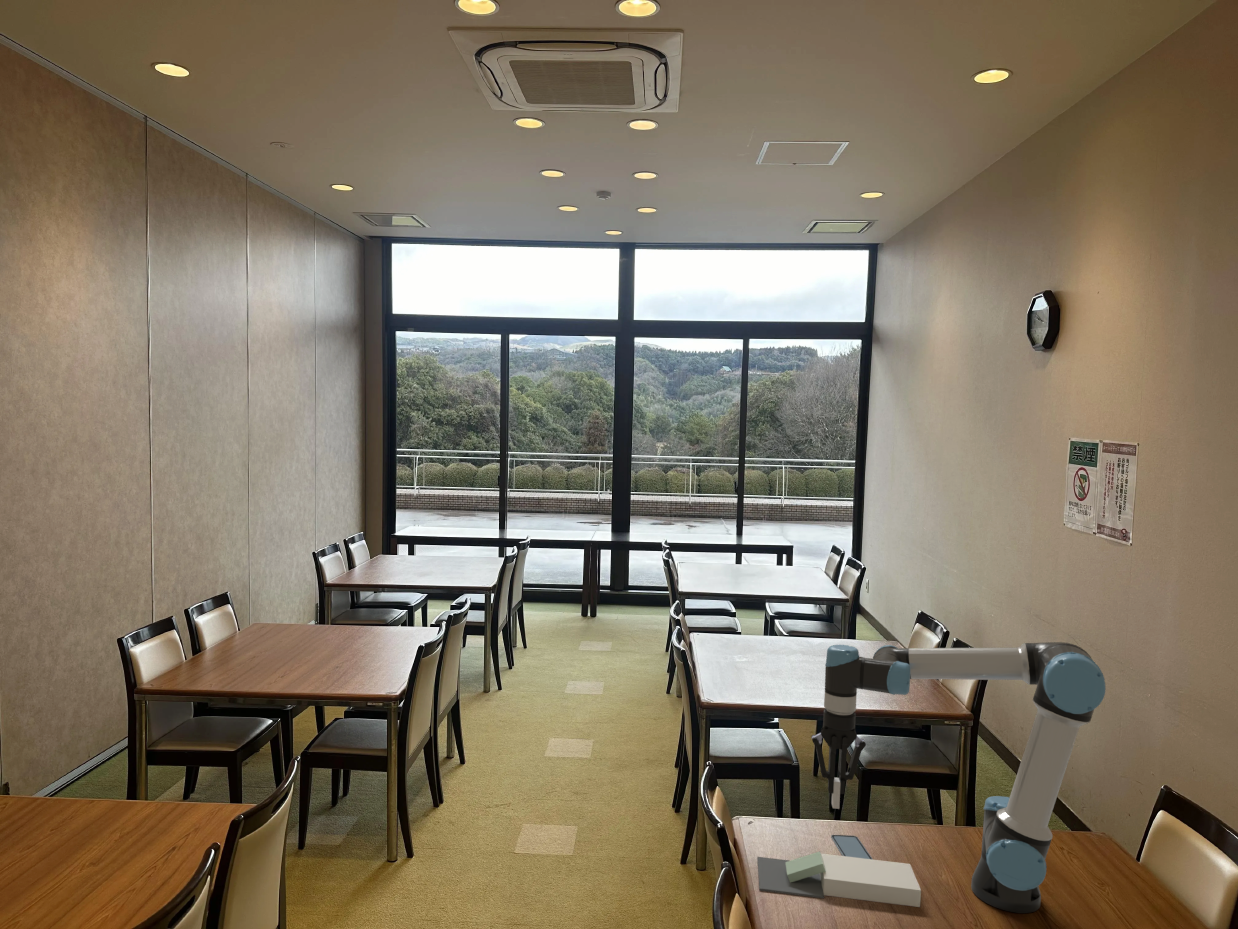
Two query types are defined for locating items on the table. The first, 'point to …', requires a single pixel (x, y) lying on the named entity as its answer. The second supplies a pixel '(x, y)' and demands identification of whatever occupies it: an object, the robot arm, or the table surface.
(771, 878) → the mat
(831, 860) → the board
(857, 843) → the smartphone
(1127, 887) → the table surface
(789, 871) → the tile
